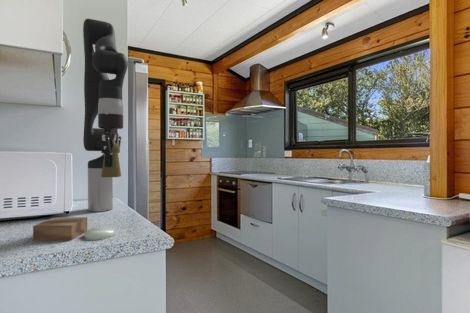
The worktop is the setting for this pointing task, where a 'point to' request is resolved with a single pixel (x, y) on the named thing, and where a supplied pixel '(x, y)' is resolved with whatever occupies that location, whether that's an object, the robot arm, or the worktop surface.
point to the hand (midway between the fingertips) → (111, 166)
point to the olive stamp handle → (115, 168)
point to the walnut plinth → (59, 229)
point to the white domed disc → (99, 233)
